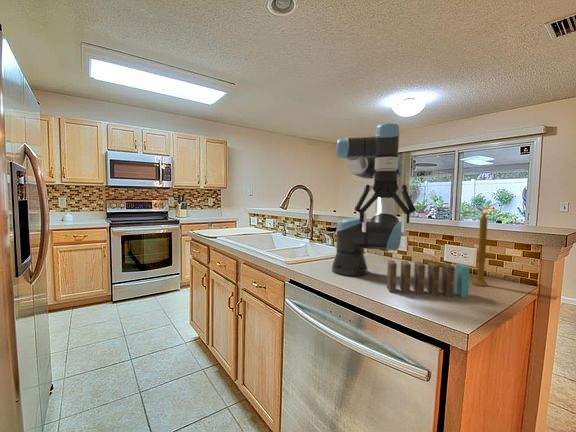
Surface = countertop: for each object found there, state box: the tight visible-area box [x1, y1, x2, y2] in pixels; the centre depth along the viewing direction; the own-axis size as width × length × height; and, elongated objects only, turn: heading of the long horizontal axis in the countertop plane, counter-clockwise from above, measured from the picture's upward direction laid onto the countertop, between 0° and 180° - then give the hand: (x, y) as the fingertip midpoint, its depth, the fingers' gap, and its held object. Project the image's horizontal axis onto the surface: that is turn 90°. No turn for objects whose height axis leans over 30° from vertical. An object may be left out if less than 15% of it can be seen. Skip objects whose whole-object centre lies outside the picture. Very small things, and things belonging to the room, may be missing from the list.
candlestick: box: [471, 212, 489, 287], centre depth 106 cm, size 27×5×5 cm
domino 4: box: [426, 261, 441, 297], centre depth 97 cm, size 2×5×10 cm, turn 170°
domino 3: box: [412, 261, 426, 296], centre depth 97 cm, size 2×5×10 cm, turn 170°
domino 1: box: [386, 259, 398, 294], centre depth 99 cm, size 2×5×10 cm, turn 170°
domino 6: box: [454, 263, 470, 298], centre depth 95 cm, size 2×5×10 cm, turn 170°
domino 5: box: [440, 262, 455, 297], centre depth 96 cm, size 2×5×10 cm, turn 170°
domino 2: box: [399, 260, 412, 295], centre depth 98 cm, size 2×5×10 cm, turn 170°
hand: (383, 232), depth 99 cm, fingers open, 13 cm apart
